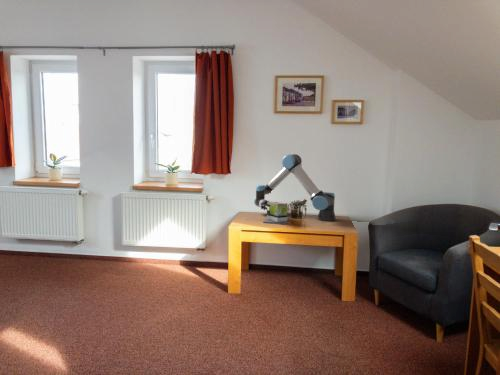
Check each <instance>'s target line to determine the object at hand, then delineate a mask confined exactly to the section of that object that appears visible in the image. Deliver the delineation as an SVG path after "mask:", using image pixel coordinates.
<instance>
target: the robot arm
mask: <svg viewBox="0 0 500 375" xmlns="http://www.w3.org/2000/svg"><path fill="white" fill-rule="evenodd" d="M302 162H303V160H302V158H301V156H300V154H299V155H298V154H295V153H294V154H290V153H289V154H286V155H285V156H283V158H282V161H281V165H282V167H283V168H282V169H280V171H278V173H277V174H275V176H273V178H271V180H270V181H269V182H267V184H266V185H265V184H256V186H255V199H254V201H253V203H254V205H255V206H256V207H258V208H260V209H261V210H263V211H265V210H266V211H267V210H268V211H270V207H267V202H270V200H267V199H265V198H266V196H265V195H270V194H271V191H272V190H273V191H274V190H275V188H277V187H278V186H279V185H280V184H281V183H282V182H283V181H284V180H285V179H286V178H287V177H288V176H289V175H290V174H292V175H294V176H295V178H296V179H297V181H298V182H299V183H300V184H301V186H302V187H303V189H304V190H305V191H306V192H307V194H308V195H309V196H310V198H309V200H310V201H311V203H312V204H311V205H312V206H313V208H314V209H316V210H318V211H319V212H318V213H317V216H316V217H317V220H318V221H323V222H333V221H336V220H337V218H336V214H335V198H336V196H335V195H336V194H335V193H334V192H326V191H325V192H324V191H323V190H322V189H321V190H320V189H319V188H318V187H317V186H316V184H315V183H314V182H313V180H312V179H311V178H310V177H309V175H308V174H307V172H306V171H305V170H304V169H303V167H302ZM269 193H270V194H269Z"/></svg>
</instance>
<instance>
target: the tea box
mask: <svg viewBox="0 0 500 375" xmlns="http://www.w3.org/2000/svg"><path fill="white" fill-rule="evenodd" d="M267 207H270V211H268V210H266V219H269V220H272V221H276V222H284V221H287V219H288V203H287V202H283V201H278V200H273V201H271V200H269V202H267Z"/></svg>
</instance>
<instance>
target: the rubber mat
mask: <svg viewBox="0 0 500 375" xmlns="http://www.w3.org/2000/svg"><path fill="white" fill-rule="evenodd" d="M289 221H290V218H287V221H284V222H276V221H272V220H269V219H267V218H266V219H264V220H263V223H264V224H275V225H286V224H287V223H288V222H289Z"/></svg>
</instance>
